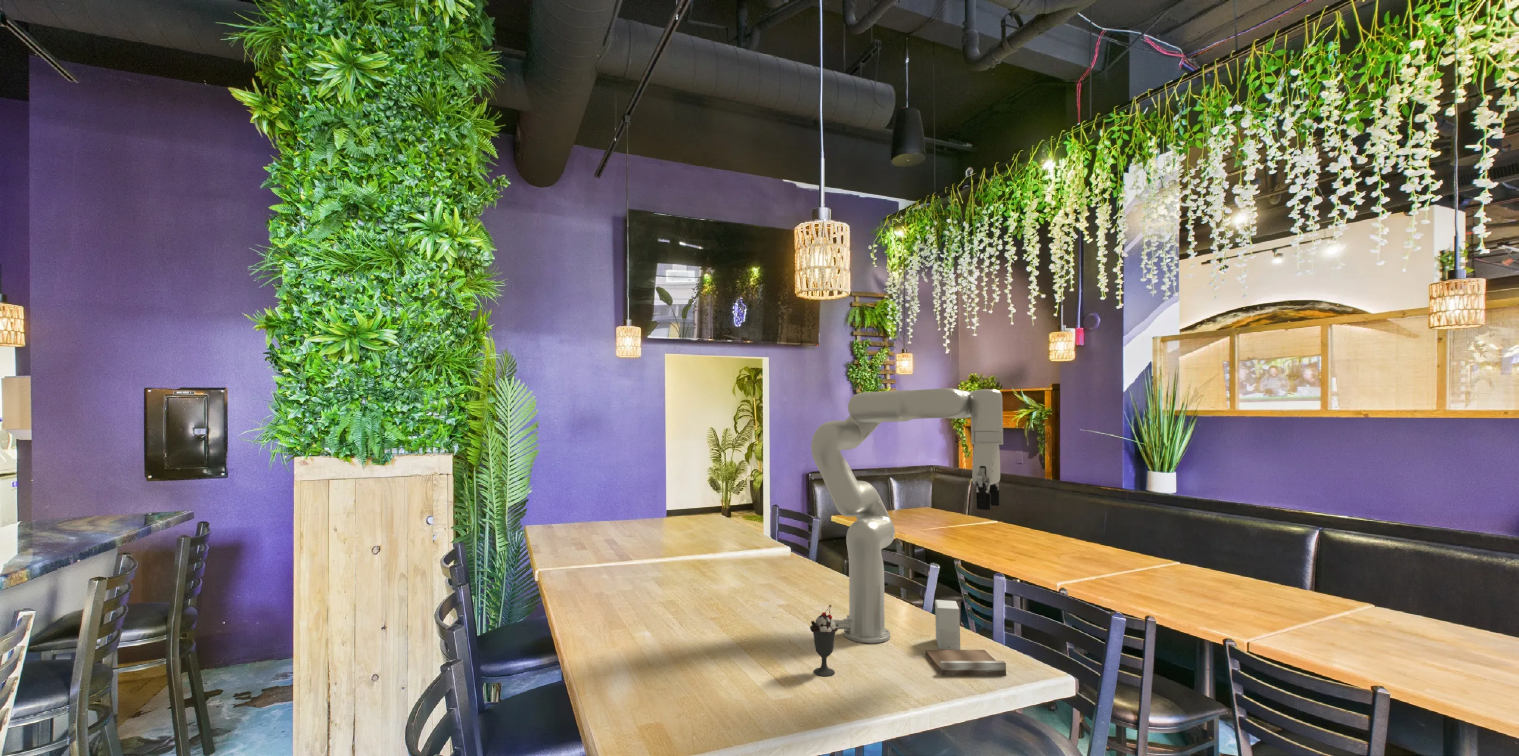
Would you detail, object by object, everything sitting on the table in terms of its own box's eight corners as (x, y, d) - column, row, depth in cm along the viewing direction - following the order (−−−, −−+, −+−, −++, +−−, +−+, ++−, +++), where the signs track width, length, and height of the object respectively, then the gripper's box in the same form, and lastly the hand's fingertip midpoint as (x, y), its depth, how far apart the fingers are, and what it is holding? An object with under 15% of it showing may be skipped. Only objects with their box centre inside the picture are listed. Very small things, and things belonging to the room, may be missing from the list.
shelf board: (941, 675, 144) (941, 662, 144) (925, 654, 157) (925, 643, 157) (1006, 675, 144) (1005, 662, 144) (984, 654, 157) (984, 643, 157)
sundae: (841, 668, 147) (841, 603, 148) (835, 679, 141) (835, 611, 142) (813, 664, 149) (814, 600, 150) (806, 675, 143) (806, 608, 144)
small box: (960, 651, 159) (959, 609, 160) (937, 649, 160) (937, 607, 161) (957, 640, 167) (956, 600, 168) (935, 638, 168) (935, 599, 169)
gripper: (980, 437, 166) (981, 502, 165) (962, 438, 151) (963, 510, 150) (1009, 438, 162) (1011, 504, 160) (995, 439, 147) (996, 512, 146)
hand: (988, 507), depth 155 cm, fingers open, 9 cm apart
